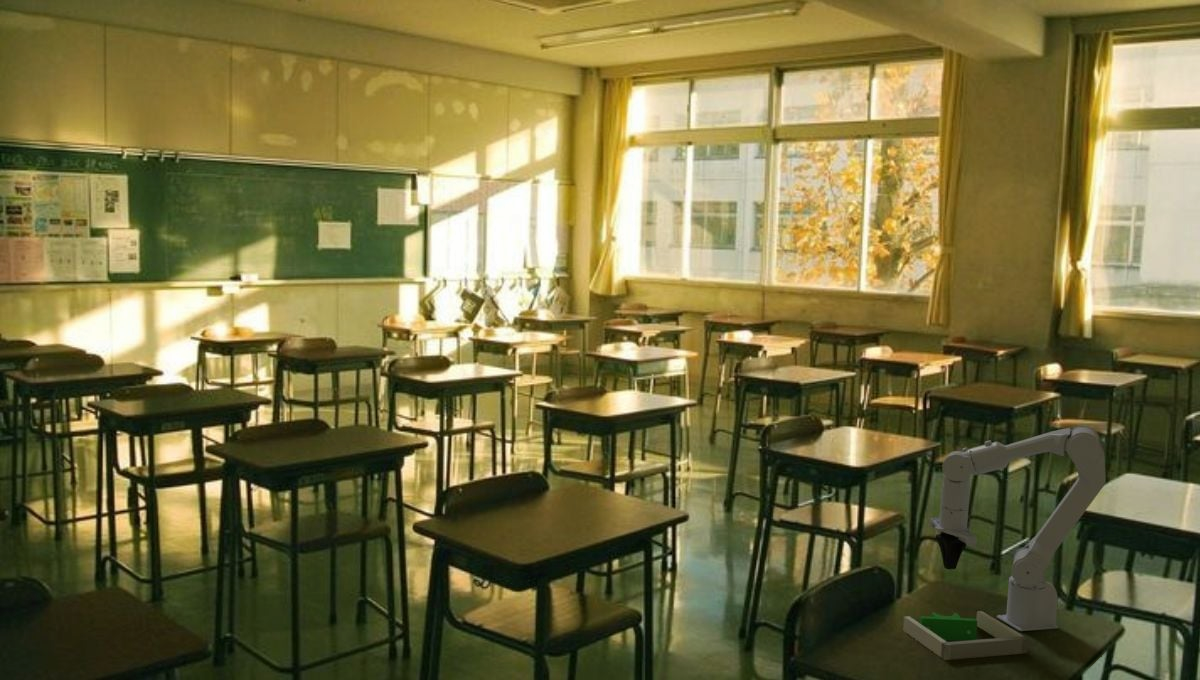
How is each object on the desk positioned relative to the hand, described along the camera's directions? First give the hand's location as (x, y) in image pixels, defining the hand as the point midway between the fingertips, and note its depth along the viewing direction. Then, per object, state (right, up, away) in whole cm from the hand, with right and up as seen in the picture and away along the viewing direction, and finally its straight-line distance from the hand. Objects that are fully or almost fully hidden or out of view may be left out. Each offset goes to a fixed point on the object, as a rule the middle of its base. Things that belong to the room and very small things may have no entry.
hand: (949, 568), depth 221 cm
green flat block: (-6, -11, -14) cm, 19 cm away
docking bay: (-3, -11, -17) cm, 20 cm away
